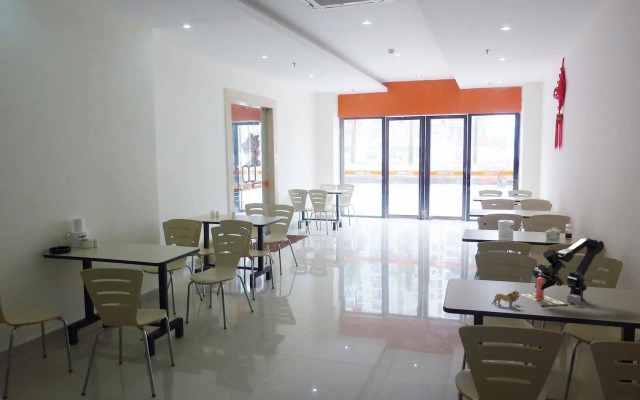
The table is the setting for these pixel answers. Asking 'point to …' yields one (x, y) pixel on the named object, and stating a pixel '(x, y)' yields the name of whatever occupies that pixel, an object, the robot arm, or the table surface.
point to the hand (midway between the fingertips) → (538, 288)
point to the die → (574, 299)
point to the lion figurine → (506, 298)
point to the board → (546, 302)
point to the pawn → (539, 289)
